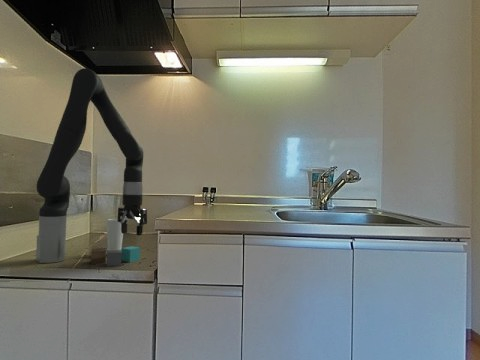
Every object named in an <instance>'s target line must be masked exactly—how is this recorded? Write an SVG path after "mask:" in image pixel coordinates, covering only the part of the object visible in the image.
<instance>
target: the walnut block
mask: <svg viewBox="0 0 480 360" xmlns="http://www.w3.org/2000/svg"><path fill="white" fill-rule="evenodd" d="M90 253H91V258H90V264H91V265H101V264H102V265H103V264H107V248H106V247H96V248H95V247H93V248H91V251H90Z"/></svg>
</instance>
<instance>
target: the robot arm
mask: <svg viewBox="0 0 480 360" xmlns="http://www.w3.org/2000/svg"><path fill="white" fill-rule="evenodd" d="M76 71H77V72H76V73H75V74H74V76H73V79H72V83H71V87H70V90H69V91H70V92H69V96H68V100H67V102H66V106H65V108H64V111H63V114H62V117H61V119H60V122H59V123H58V127H57V131H56V133H55V136H54V140H53V142H52V145H51V148H50V152H49V154H48V157H47V160H46V162H45V165H44V167H43V168H42V171H41V172H40V174H39V176H38V179H37V180H36V181H37V182H36V191H37V194H38V195H39V196H40V197H42V198H43V199H44V202H43V205H42V206H41V207H40V208H39V212H38V217H39V218H38V234H37V235H36V253H35V261H37V262H38V263H39V264H48V263H49V264H51V263H58V262H62V261H64V260H66V237H67V212H68V209H69V207H70V194H71V184H70V182H69V179H68V178H67V176H65V173H66V170H67V167H68V164H69V163H70V161H71V160H72V159H73V157H74V156H75V155H76V154H77V151H78V150H79V149H80V147H81V145H82V142H83V140H84V137H85V133H86V131H87V130H86V129H87V123H88V121H87V120H88V108H89V105H90V102H91V103H92V104H93V105H94V106H95V108H96V109H97V111H98V113H99V115H100V117H101V119H102V121H103V123H104V125H105V127H106V129H107V130H108V131H109V133H110V135H111V137H112V138H113V139H114V141H115V142H116V143H117V145H118V148H119V149H120V151H121V153H122V154H123V156H124V157H125V168H124V171H123V184H122V200H121V201H122V206H121V207H120V206H118V208H117V219H118V220H117V221H118V222H120V223H121V232H122V233H123V234H127V233H128V222H129V220H133V222H135V224H136V234H135V235H136V236H142V235H143V227H144V225H147V224H148V209H147V208H141V207H142V205H143V192H144V191H143V190H144V189H143V165H144V164H143V163H144V150H143V148H142V147H141V145H140V144H139V142H137V140H136V138H135V137H134V136H133V134H132V132H131V129H130V128H129V127H128V125H127V123H126V121H125V120H124V118H123V117H122V116H121V114H120V113H119V111H118V110H117V109H116V107H115V106H114V105H113V104H114V103H113V102H112V100H111V99H110V97H109V95H108V93H107V90H106V88H105V86H104V84H103V81H102V79H101V77H100V76H99V75H98V74H97V73H96V72H95V71H94V70H92V69H90V68H87V67H85V68H81V69H79V70H76Z"/></svg>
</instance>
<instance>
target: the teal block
mask: <svg viewBox="0 0 480 360" xmlns="http://www.w3.org/2000/svg"><path fill="white" fill-rule="evenodd" d="M140 260H141V247H139V246H132V245H131V246H126V247H122V248H121V262H127V263H134V262H137V261H140Z"/></svg>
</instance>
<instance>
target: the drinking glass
mask: <svg viewBox="0 0 480 360" xmlns="http://www.w3.org/2000/svg"><path fill="white" fill-rule="evenodd" d="M117 220H118V218H108V219H107V220H106V237H107V250H122V248H123V238H124V233H122V232H121V223H120V222H118V221H117Z"/></svg>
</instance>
